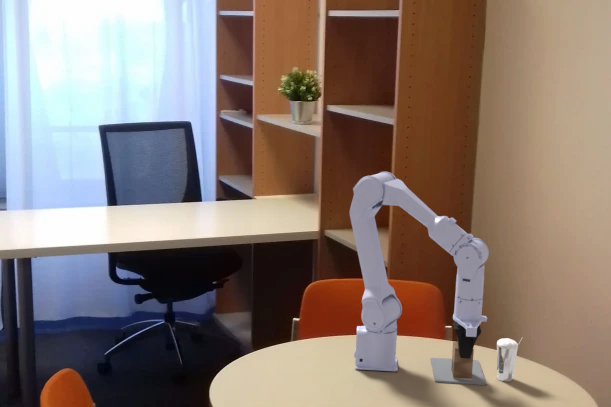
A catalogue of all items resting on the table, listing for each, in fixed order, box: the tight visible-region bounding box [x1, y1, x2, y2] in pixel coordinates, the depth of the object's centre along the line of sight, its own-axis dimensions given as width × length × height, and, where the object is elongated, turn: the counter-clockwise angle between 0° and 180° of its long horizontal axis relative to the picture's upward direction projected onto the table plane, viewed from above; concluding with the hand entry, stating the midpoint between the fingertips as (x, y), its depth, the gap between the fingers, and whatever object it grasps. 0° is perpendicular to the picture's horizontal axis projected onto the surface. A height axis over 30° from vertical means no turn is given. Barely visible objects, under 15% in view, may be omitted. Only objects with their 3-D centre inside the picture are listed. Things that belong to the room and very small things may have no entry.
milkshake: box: [496, 336, 523, 383], centre depth 161 cm, size 4×5×10 cm
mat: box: [430, 357, 488, 386], centre depth 165 cm, size 11×13×1 cm
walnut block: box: [451, 341, 475, 380], centre depth 162 cm, size 4×4×7 cm
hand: (464, 357), depth 158 cm, fingers closed
